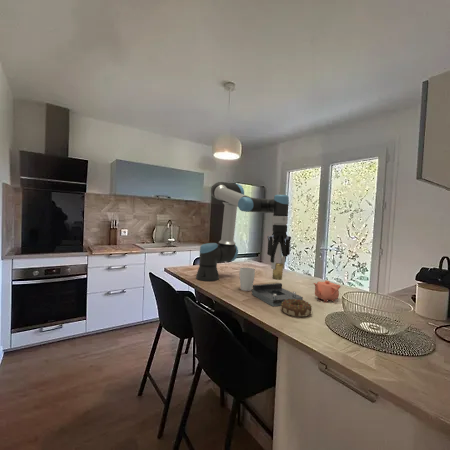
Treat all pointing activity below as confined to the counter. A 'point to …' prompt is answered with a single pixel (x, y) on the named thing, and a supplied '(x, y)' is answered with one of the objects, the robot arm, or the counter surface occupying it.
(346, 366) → the counter surface
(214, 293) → the counter surface
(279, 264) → the amber grooved cylinder
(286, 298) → the jig
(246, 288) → the cup
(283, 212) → the robot arm
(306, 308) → the donut
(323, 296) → the pink piggy bank
